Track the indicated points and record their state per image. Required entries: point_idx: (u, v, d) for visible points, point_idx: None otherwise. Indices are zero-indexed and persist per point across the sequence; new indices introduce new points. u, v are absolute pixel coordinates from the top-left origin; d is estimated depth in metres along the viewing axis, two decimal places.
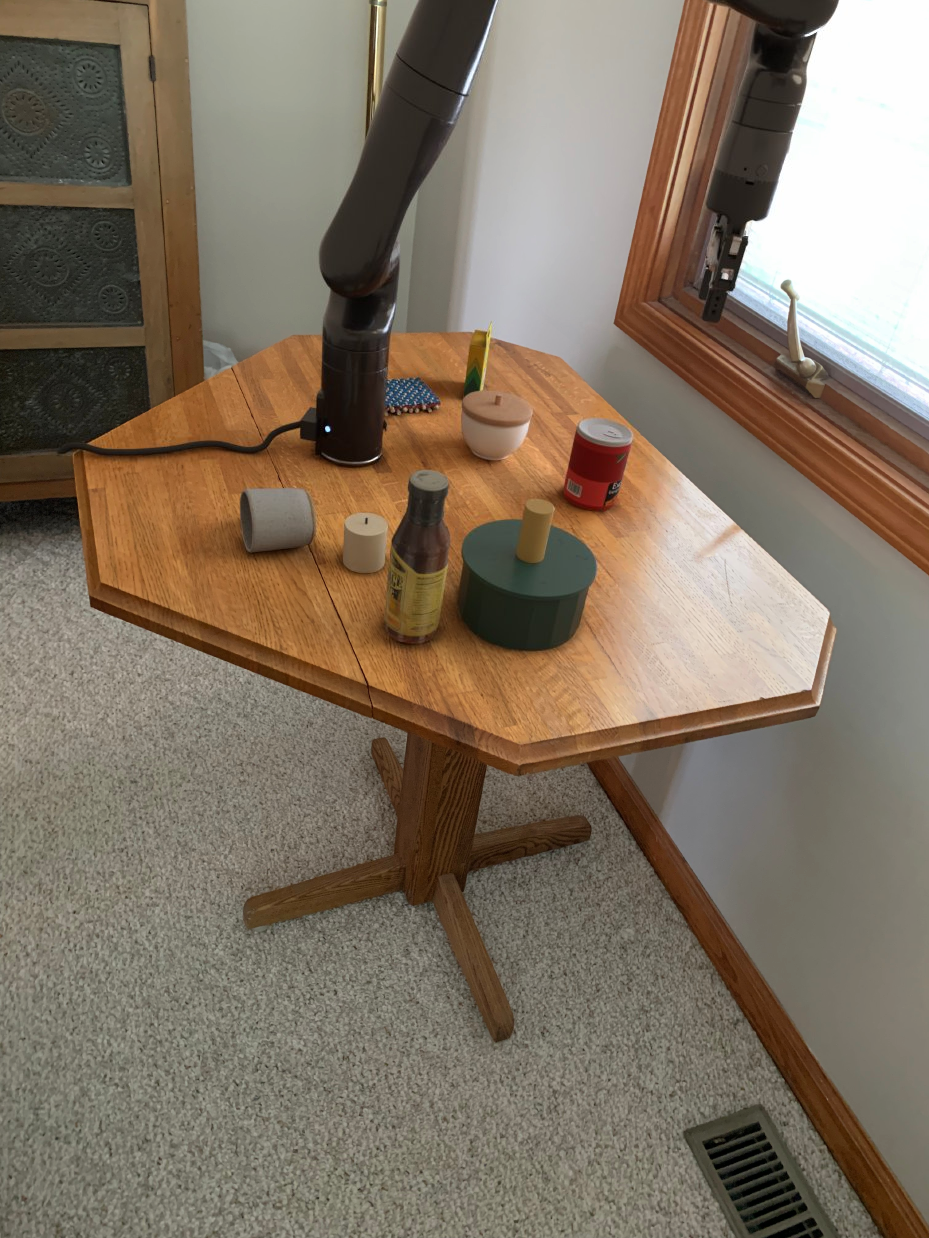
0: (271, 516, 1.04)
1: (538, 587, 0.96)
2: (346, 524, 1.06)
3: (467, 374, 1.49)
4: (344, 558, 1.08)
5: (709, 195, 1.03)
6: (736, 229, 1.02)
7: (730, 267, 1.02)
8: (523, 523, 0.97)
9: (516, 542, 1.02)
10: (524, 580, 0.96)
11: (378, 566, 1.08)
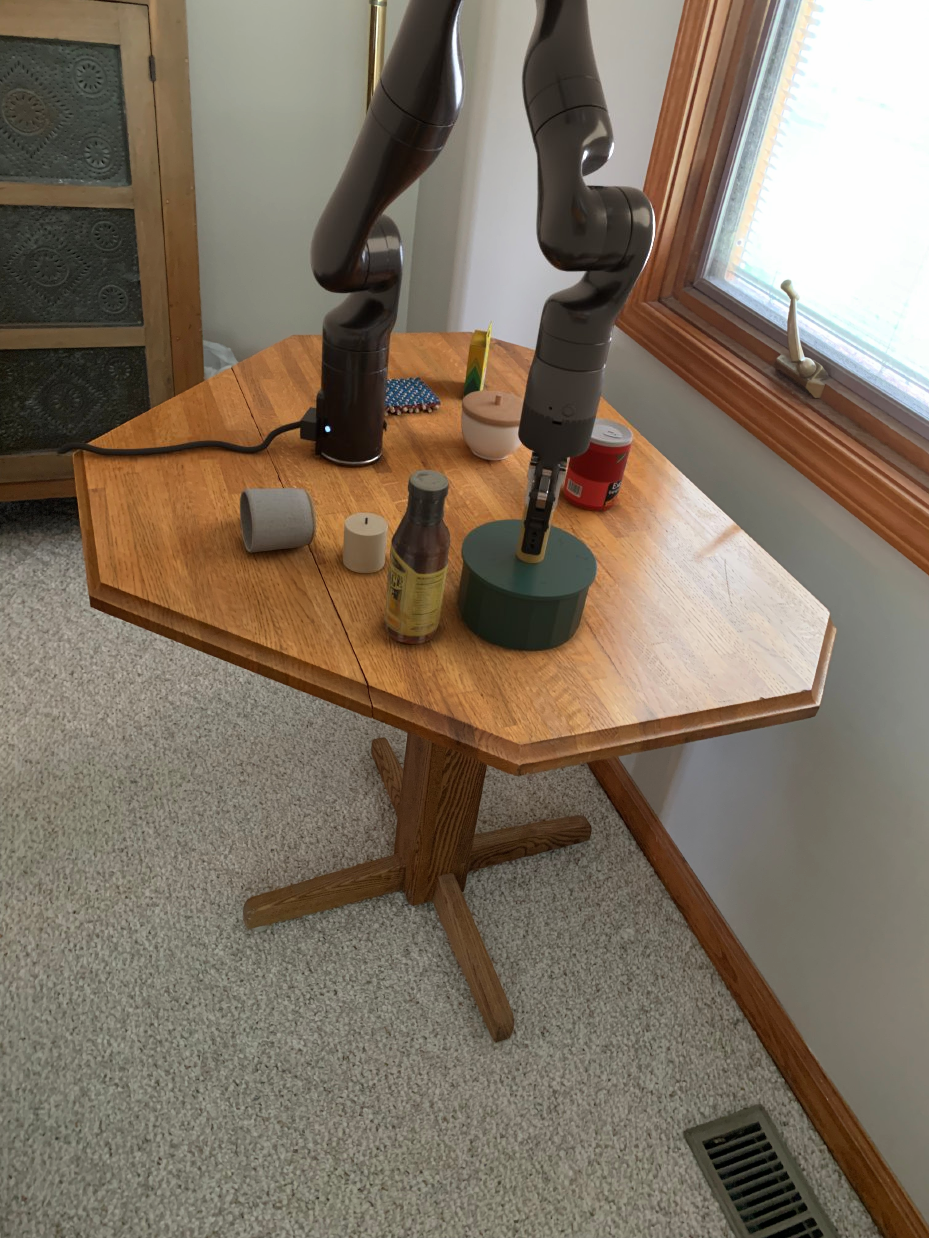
0: (271, 516, 1.04)
1: (538, 587, 0.96)
2: (346, 524, 1.06)
3: (467, 374, 1.49)
4: (344, 558, 1.08)
5: (519, 426, 0.91)
6: (548, 467, 0.90)
7: (539, 517, 0.91)
8: (523, 523, 0.97)
9: (516, 542, 1.02)
10: (524, 580, 0.96)
11: (378, 566, 1.08)
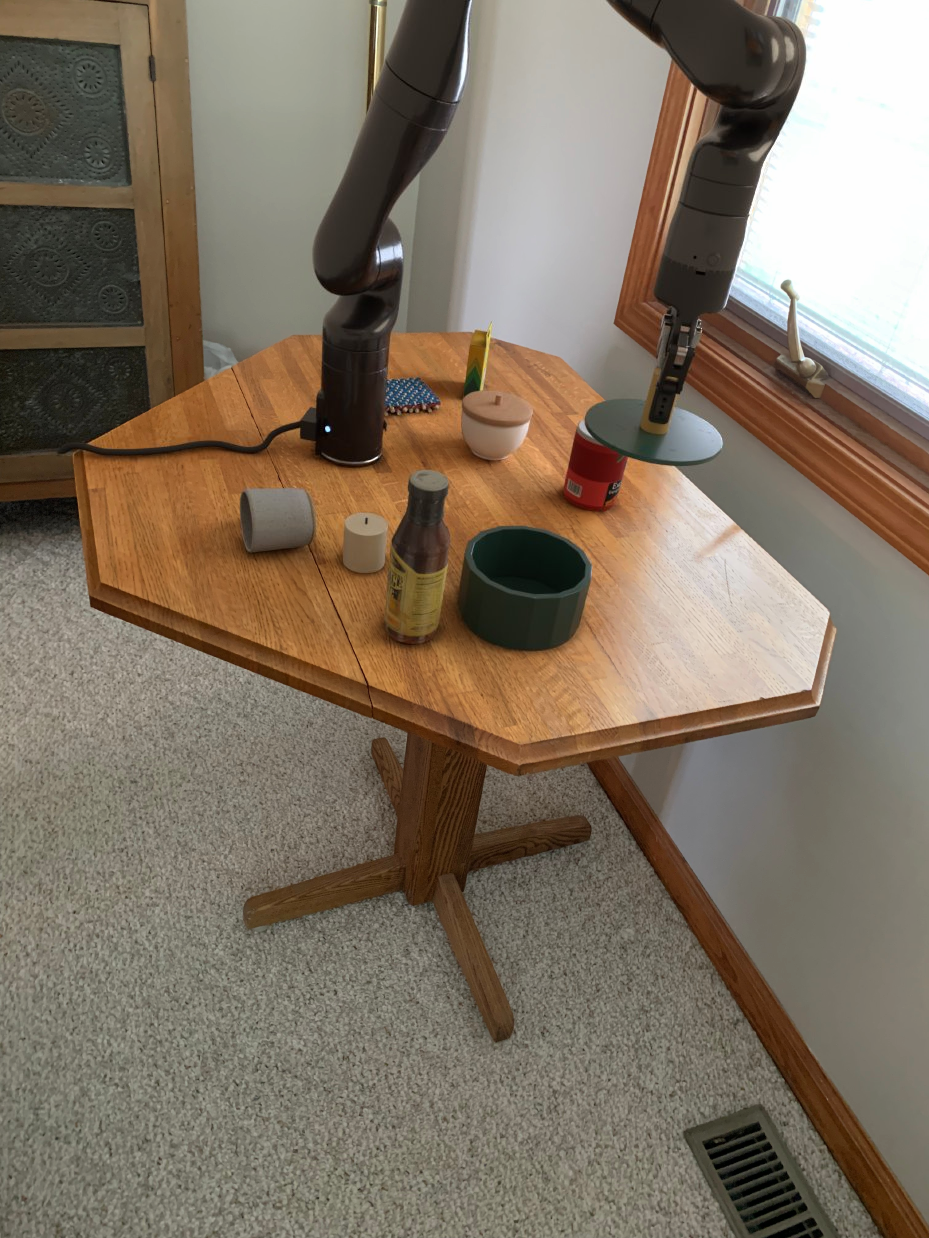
0: (271, 516, 1.04)
1: (668, 454, 0.95)
2: (346, 524, 1.06)
3: (467, 374, 1.49)
4: (344, 558, 1.08)
5: (656, 283, 0.90)
6: (687, 323, 0.89)
7: (675, 376, 0.90)
8: (651, 391, 0.96)
9: (638, 417, 1.01)
10: (653, 447, 0.95)
11: (378, 566, 1.08)
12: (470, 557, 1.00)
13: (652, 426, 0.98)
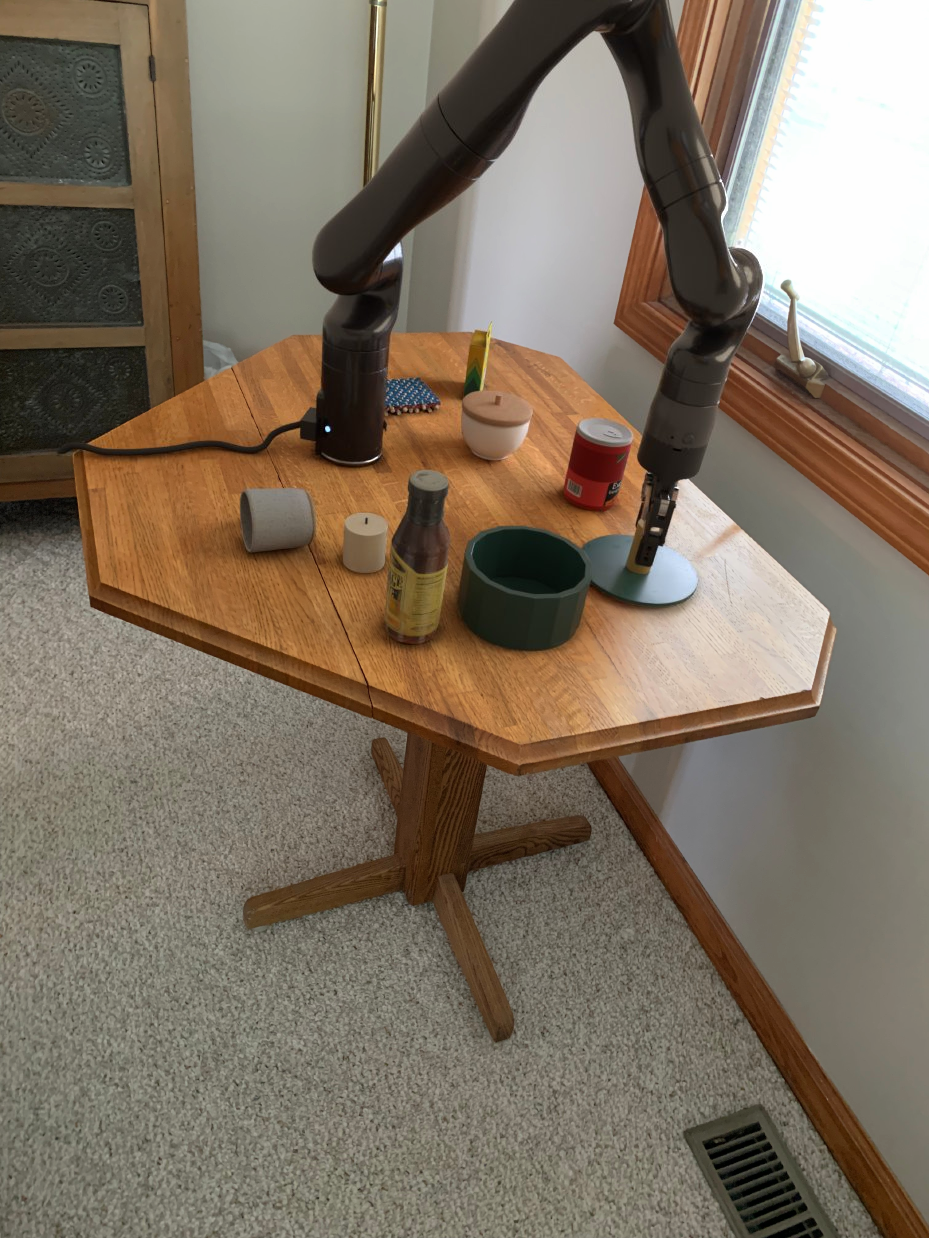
0: (271, 516, 1.04)
1: (650, 595, 1.09)
2: (346, 524, 1.06)
3: (467, 374, 1.49)
4: (344, 558, 1.08)
5: (639, 451, 1.04)
6: (665, 487, 1.03)
7: (659, 526, 1.02)
8: (636, 539, 1.11)
9: (624, 555, 1.16)
10: (637, 589, 1.10)
11: (378, 566, 1.08)
12: (470, 557, 1.00)
13: (637, 567, 1.13)
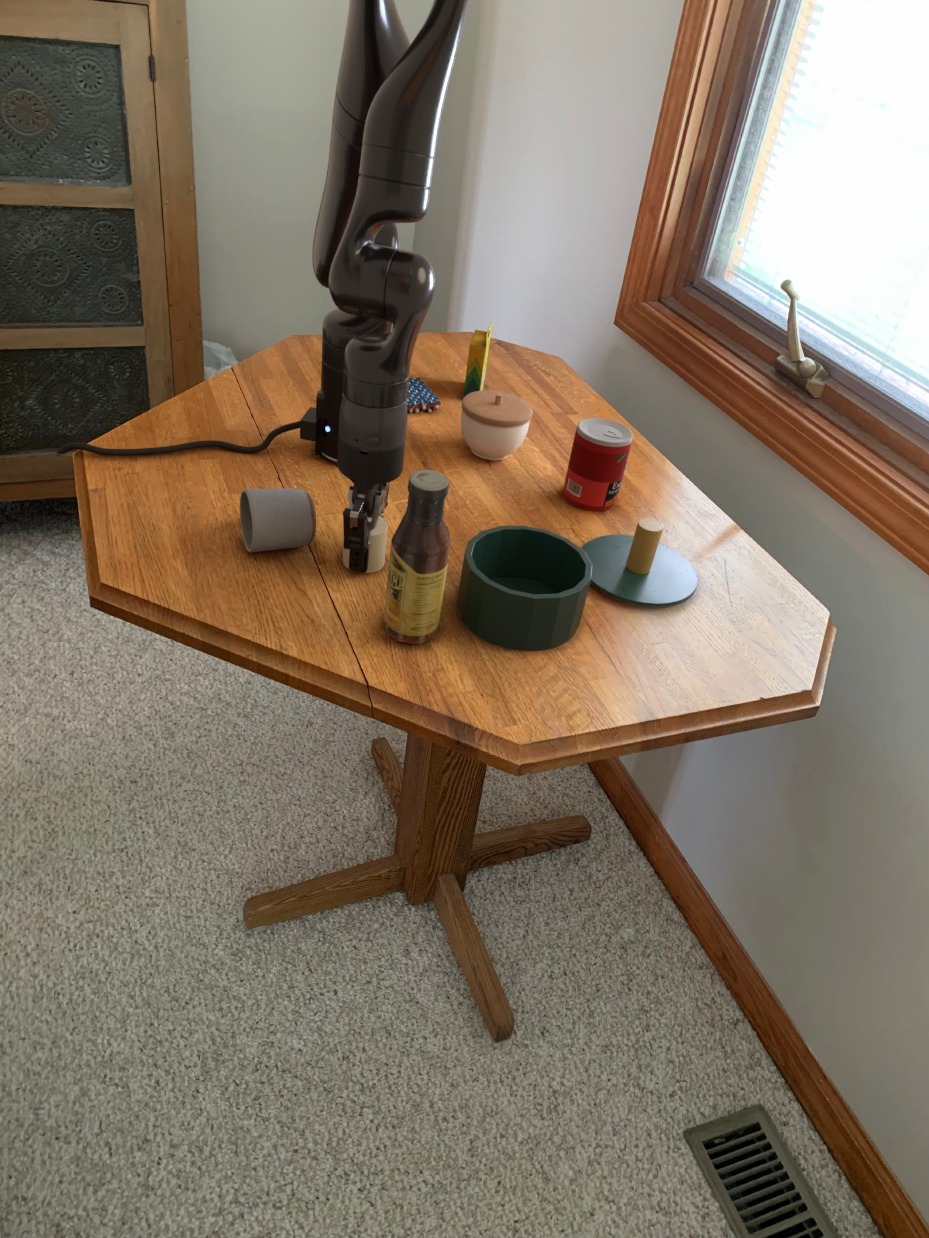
0: (271, 516, 1.04)
1: (650, 595, 1.09)
2: None
3: (467, 374, 1.49)
4: (344, 558, 1.08)
5: None
6: (361, 492, 1.00)
7: (355, 536, 1.00)
8: (636, 539, 1.11)
9: (624, 555, 1.16)
10: (637, 589, 1.10)
11: (378, 566, 1.08)
12: (470, 557, 1.00)
13: (637, 567, 1.13)
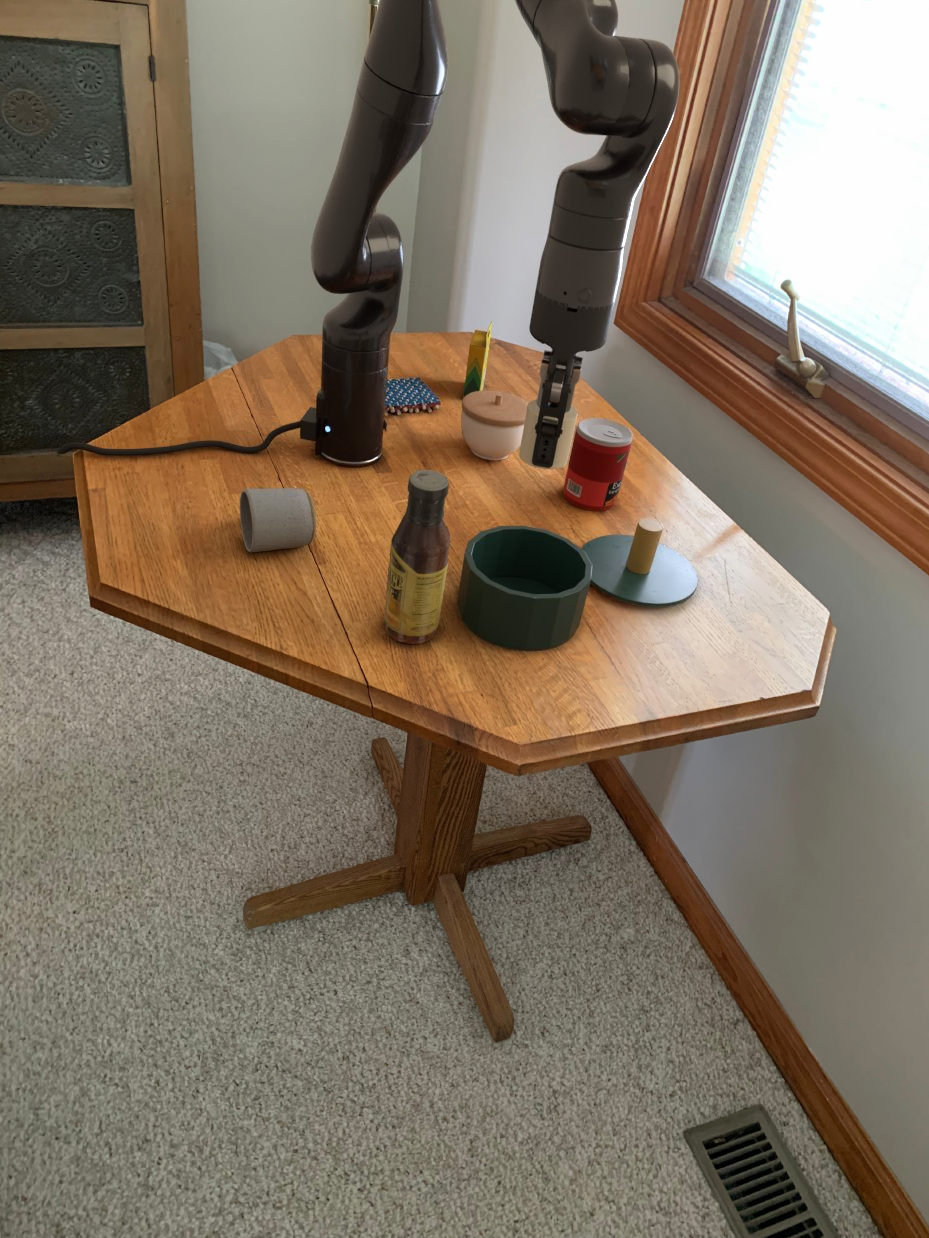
0: (271, 516, 1.04)
1: (650, 595, 1.09)
2: (530, 409, 0.89)
3: (467, 374, 1.49)
4: (523, 452, 0.92)
5: (531, 319, 0.84)
6: (562, 362, 0.83)
7: (552, 415, 0.84)
8: (636, 539, 1.11)
9: (624, 555, 1.16)
10: (637, 589, 1.10)
11: (563, 461, 0.92)
12: (470, 557, 1.00)
13: (637, 567, 1.13)
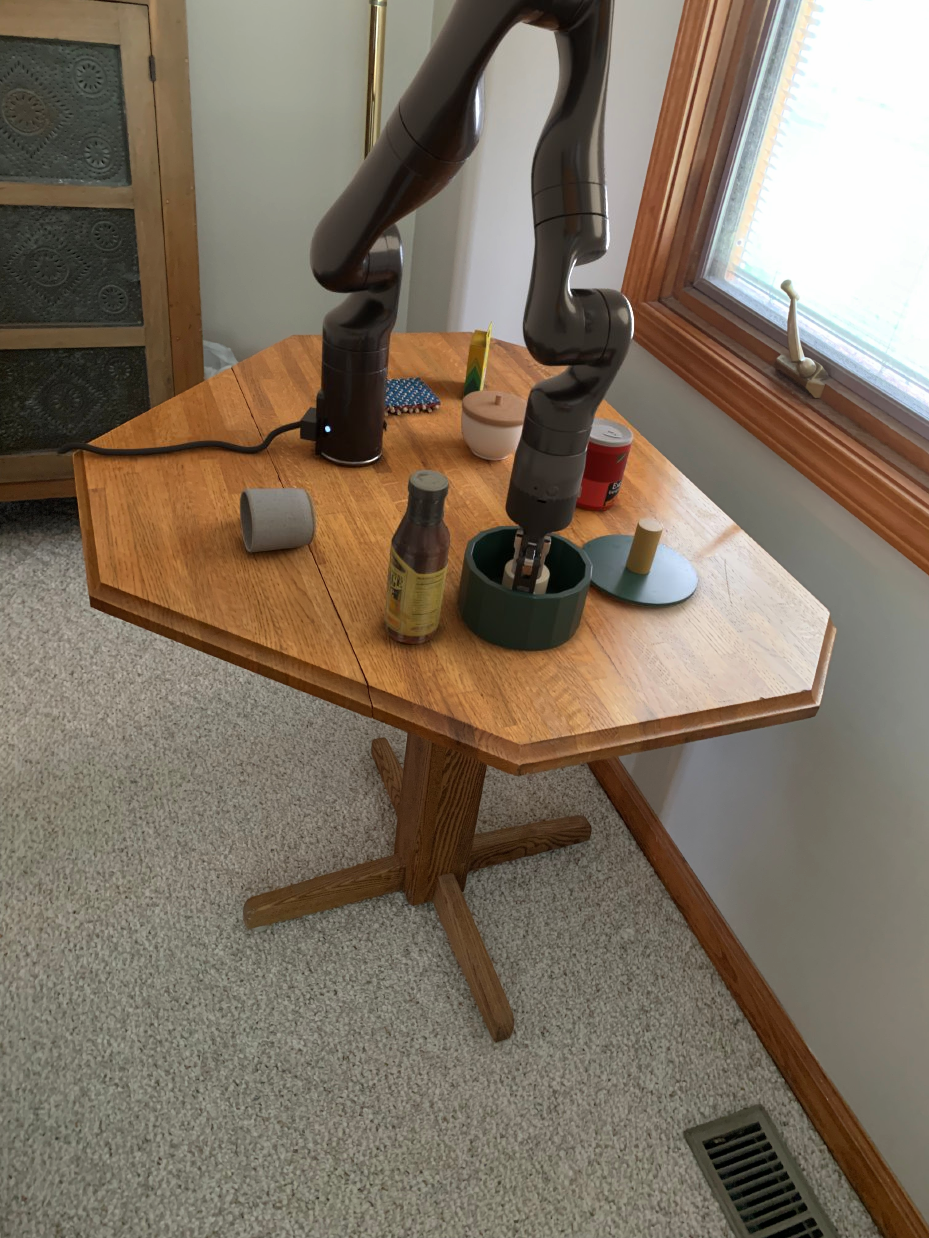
0: (271, 516, 1.04)
1: (650, 595, 1.09)
2: (507, 571, 1.01)
3: (467, 374, 1.49)
4: None
5: (506, 500, 0.96)
6: (533, 540, 0.95)
7: (525, 585, 0.95)
8: (636, 539, 1.11)
9: (624, 555, 1.16)
10: (637, 589, 1.10)
11: None
12: (470, 557, 1.00)
13: (637, 567, 1.13)
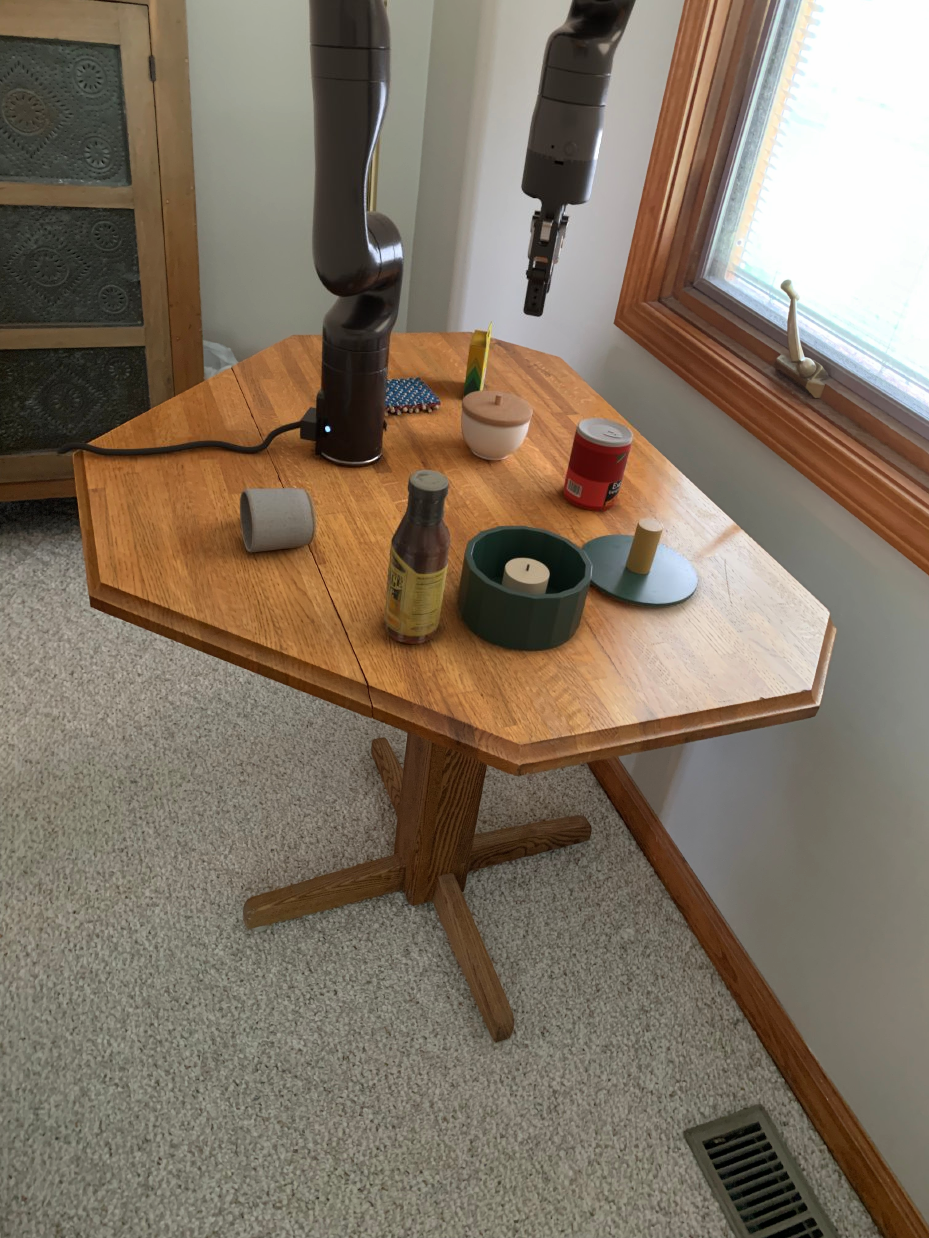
0: (271, 516, 1.04)
1: (650, 595, 1.09)
2: (507, 571, 1.01)
3: (467, 374, 1.49)
4: None
5: (523, 177, 0.94)
6: (550, 214, 0.93)
7: (542, 255, 0.93)
8: (636, 539, 1.11)
9: (624, 555, 1.16)
10: (637, 589, 1.10)
11: None
12: (470, 557, 1.00)
13: (637, 567, 1.13)
